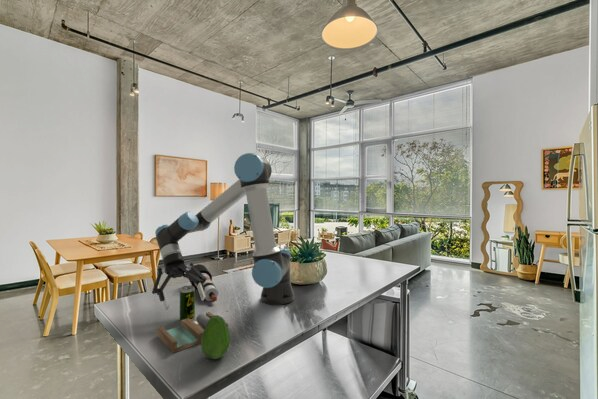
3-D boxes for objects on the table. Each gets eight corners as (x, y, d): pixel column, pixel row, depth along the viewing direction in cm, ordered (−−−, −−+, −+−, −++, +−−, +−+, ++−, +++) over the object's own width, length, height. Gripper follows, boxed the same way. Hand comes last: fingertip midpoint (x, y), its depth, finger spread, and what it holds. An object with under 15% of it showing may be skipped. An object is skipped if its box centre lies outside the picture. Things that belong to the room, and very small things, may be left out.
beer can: (176, 321, 102) (176, 288, 103) (187, 315, 107) (187, 284, 108) (187, 323, 100) (187, 290, 101) (197, 317, 105) (198, 286, 106)
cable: (209, 315, 118) (198, 297, 115) (193, 286, 147) (184, 271, 144) (230, 301, 123) (220, 283, 119) (210, 275, 151) (202, 260, 148)
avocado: (217, 368, 74) (217, 323, 74) (195, 361, 77) (195, 318, 77) (235, 353, 81) (235, 312, 81) (214, 347, 84) (214, 308, 84)
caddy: (209, 319, 103) (209, 311, 103) (227, 332, 93) (227, 323, 93) (157, 336, 91) (157, 327, 91) (172, 353, 81) (173, 342, 81)
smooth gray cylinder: (195, 323, 97) (196, 314, 98) (204, 321, 100) (205, 312, 100) (207, 332, 91) (208, 322, 91) (216, 330, 93) (217, 320, 93)
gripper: (198, 258, 125) (213, 300, 114) (136, 267, 108) (147, 317, 97) (203, 248, 121) (220, 290, 110) (140, 256, 104) (152, 306, 93)
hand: (186, 303), depth 104 cm, fingers open, 13 cm apart
